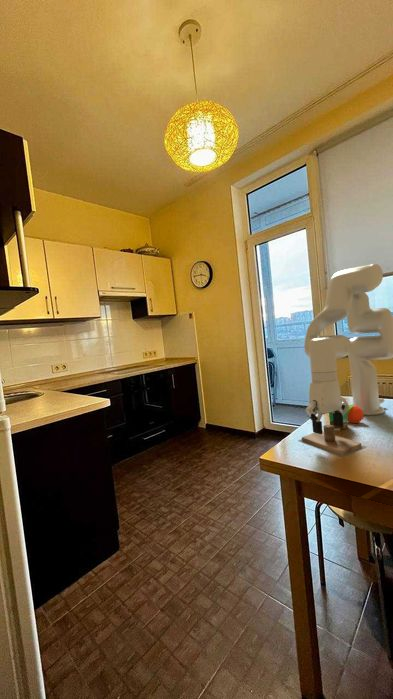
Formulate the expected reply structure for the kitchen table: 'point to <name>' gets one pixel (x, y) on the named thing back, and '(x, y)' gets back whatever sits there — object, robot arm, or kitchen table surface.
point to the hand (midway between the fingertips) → (328, 429)
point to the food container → (345, 419)
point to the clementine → (354, 414)
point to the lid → (331, 441)
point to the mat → (333, 452)
